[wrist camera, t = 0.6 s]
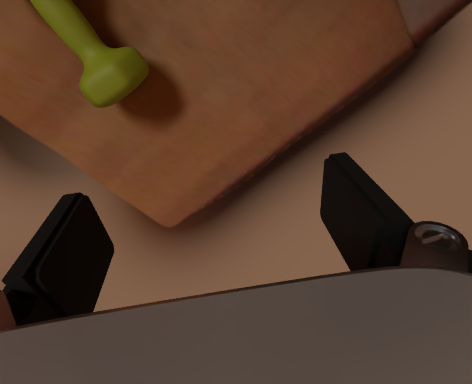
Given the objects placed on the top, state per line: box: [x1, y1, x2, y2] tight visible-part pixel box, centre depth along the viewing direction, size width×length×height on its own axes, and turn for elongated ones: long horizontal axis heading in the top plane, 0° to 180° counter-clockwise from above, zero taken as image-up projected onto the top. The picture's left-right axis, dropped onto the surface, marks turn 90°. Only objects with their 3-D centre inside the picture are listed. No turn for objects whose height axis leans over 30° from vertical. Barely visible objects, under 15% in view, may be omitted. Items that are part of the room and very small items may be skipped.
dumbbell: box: [30, 0, 149, 108], centre depth 26 cm, size 16×8×7 cm, turn 30°
